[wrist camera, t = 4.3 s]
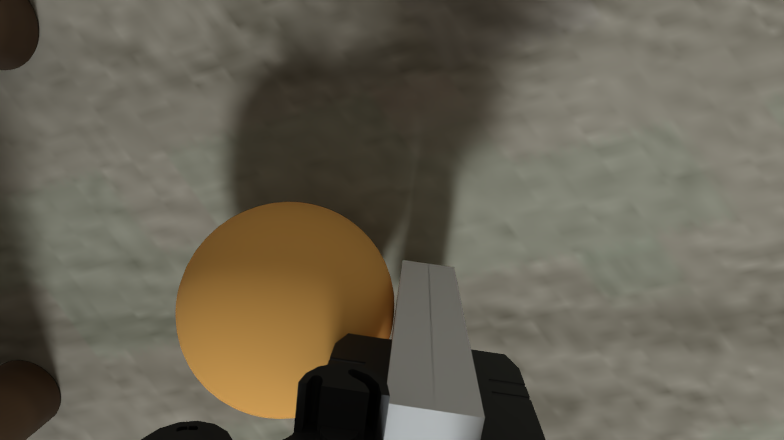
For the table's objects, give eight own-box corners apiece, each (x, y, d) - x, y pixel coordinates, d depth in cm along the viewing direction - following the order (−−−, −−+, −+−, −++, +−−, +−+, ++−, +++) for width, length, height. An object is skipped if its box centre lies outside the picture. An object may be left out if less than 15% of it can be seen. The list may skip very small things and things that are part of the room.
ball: (372, 348, 16) (204, 341, 15) (391, 193, 15) (209, 175, 14) (393, 473, 11) (139, 473, 10) (427, 248, 9) (137, 225, 9)
